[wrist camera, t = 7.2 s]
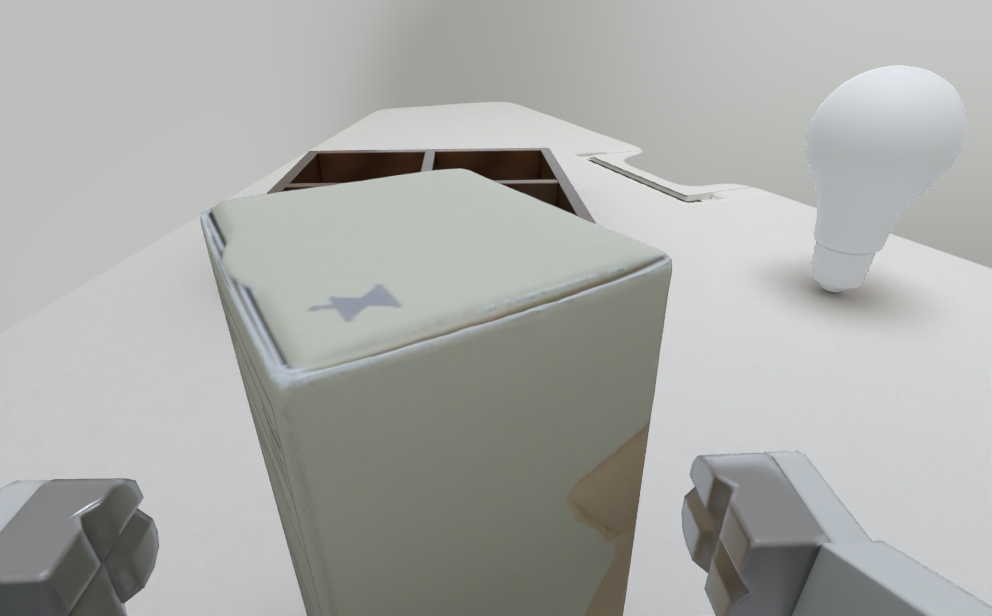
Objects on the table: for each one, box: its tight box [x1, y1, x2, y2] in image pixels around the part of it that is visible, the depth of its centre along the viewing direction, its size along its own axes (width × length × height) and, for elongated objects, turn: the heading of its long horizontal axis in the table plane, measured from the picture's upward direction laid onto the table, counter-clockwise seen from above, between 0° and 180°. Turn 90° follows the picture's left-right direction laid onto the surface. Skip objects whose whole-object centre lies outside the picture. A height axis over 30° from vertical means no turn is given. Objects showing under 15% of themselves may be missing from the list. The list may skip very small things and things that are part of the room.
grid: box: [267, 148, 596, 224], centre depth 37 cm, size 19×19×3 cm
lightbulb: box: [806, 66, 967, 292], centre depth 27 cm, size 6×6×11 cm
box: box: [200, 169, 672, 616], centre depth 9 cm, size 5×4×11 cm
